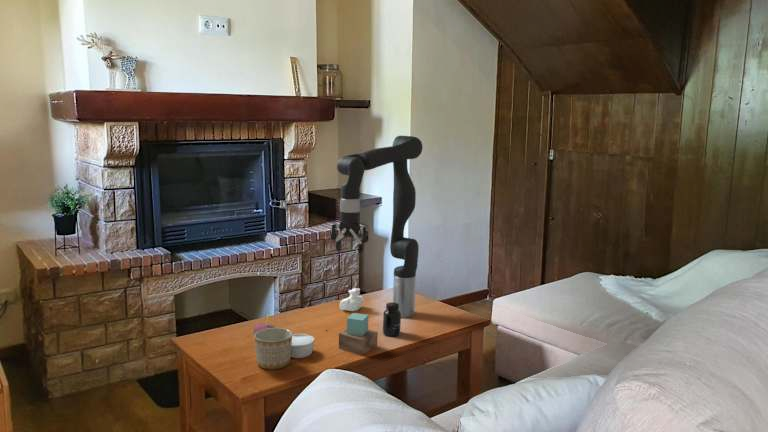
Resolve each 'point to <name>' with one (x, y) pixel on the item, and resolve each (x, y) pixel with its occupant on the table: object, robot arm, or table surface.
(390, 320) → the supplement bottle
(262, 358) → the planter
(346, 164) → the robot arm
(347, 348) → the walnut block
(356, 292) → the duck figurine
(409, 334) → the table surface
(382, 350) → the table surface
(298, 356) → the ramekin
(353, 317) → the teal cube
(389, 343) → the table surface
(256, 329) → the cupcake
